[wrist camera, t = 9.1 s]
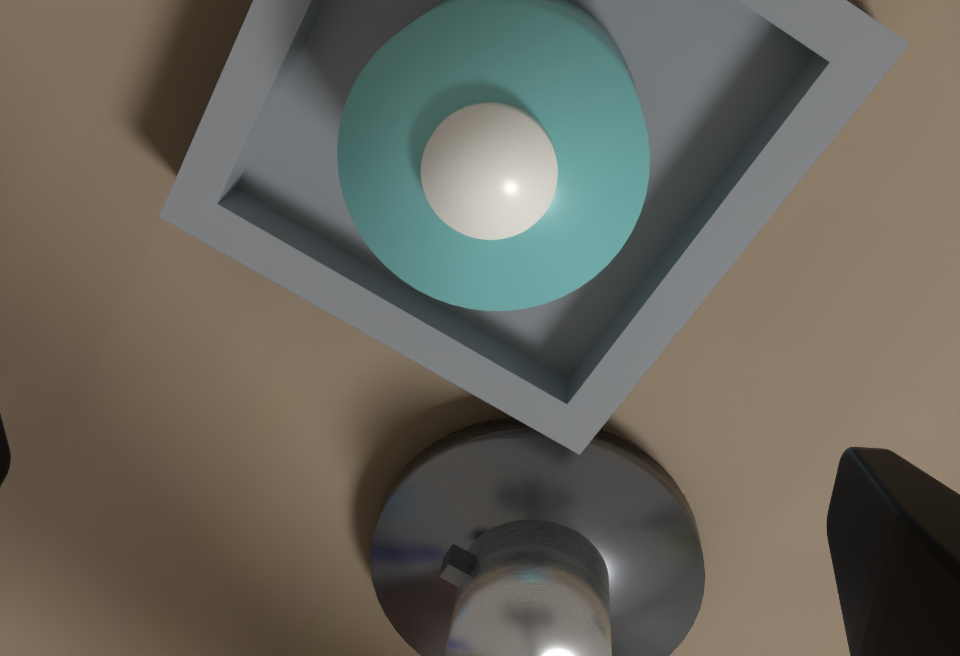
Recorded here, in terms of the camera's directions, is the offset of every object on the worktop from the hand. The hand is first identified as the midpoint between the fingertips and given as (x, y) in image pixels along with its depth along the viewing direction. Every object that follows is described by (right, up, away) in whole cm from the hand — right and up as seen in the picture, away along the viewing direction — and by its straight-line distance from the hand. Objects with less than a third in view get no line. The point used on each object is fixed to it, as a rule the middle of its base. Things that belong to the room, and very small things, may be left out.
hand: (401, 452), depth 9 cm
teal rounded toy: (+1, +6, +10) cm, 11 cm away
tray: (+1, +6, +10) cm, 12 cm away
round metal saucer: (+2, -5, +15) cm, 16 cm away
